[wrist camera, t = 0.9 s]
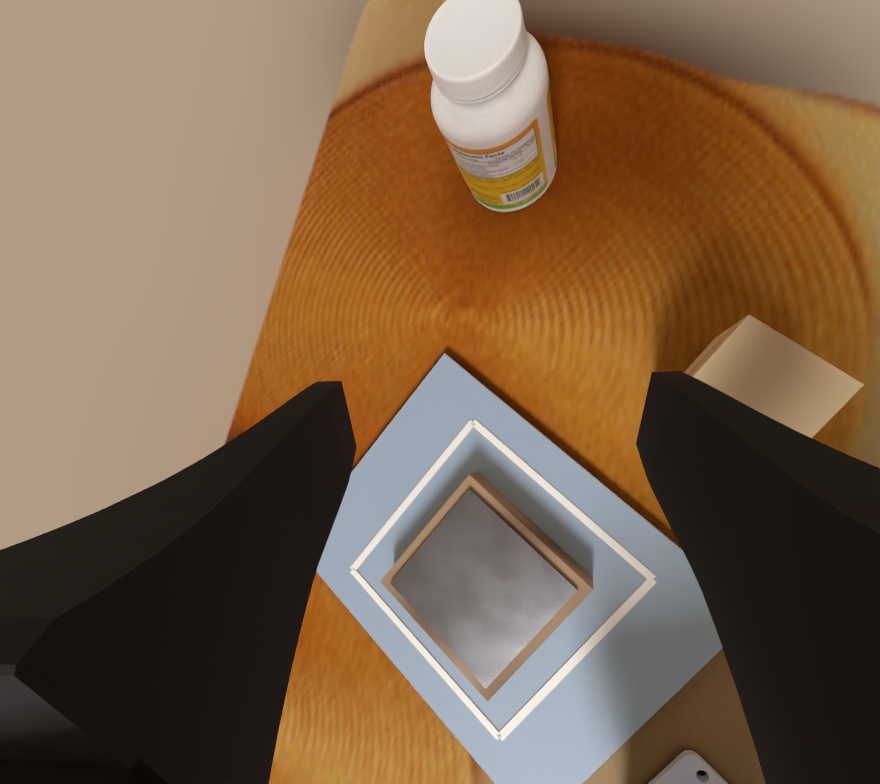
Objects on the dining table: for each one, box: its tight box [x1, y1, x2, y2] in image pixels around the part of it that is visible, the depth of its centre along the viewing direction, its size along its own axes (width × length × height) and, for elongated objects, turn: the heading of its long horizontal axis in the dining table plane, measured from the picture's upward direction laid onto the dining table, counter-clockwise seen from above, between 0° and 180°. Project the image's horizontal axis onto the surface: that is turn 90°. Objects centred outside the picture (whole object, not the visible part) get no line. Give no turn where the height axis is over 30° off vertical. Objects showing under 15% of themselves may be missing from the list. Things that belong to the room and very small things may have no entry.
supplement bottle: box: [424, 0, 557, 212], centre depth 21 cm, size 5×5×10 cm
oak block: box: [684, 315, 864, 438], centre depth 19 cm, size 4×4×5 cm
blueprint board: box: [316, 353, 723, 784], centre depth 23 cm, size 20×16×3 cm
